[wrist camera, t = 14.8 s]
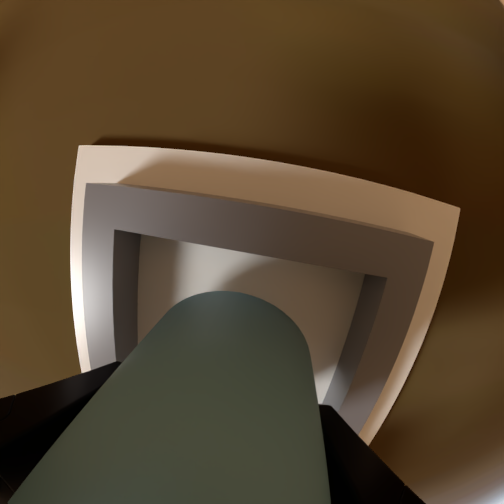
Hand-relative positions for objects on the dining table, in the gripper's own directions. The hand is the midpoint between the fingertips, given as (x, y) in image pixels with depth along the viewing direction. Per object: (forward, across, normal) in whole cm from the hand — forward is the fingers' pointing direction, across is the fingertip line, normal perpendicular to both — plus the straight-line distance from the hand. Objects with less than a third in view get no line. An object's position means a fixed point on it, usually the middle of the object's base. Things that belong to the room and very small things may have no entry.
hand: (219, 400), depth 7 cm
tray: (+4, 0, +5) cm, 6 cm away
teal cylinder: (+2, 0, 0) cm, 2 cm away
